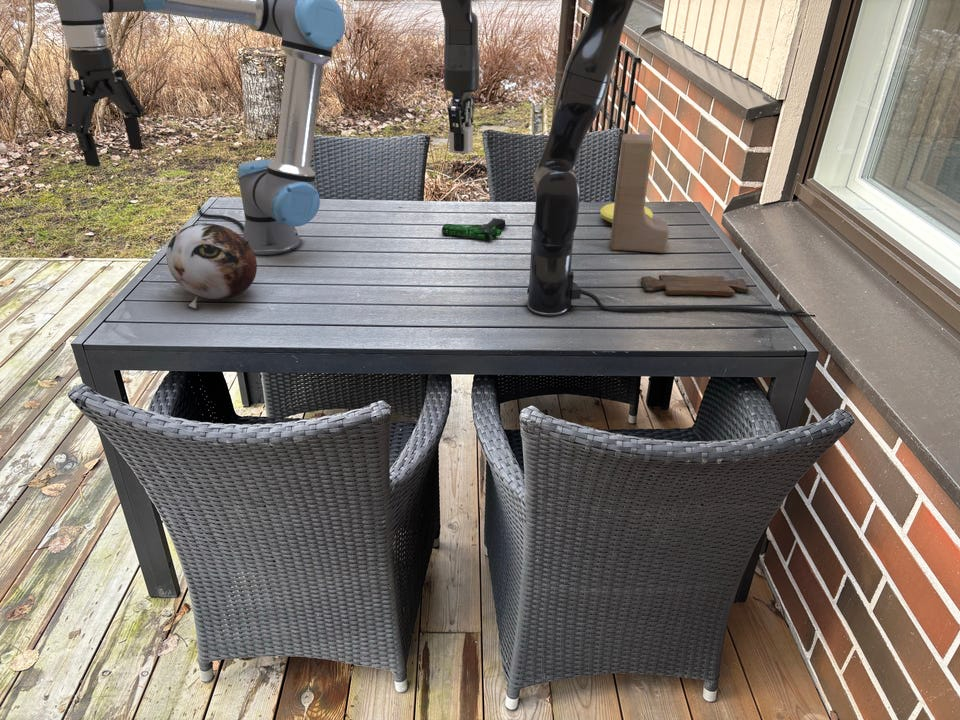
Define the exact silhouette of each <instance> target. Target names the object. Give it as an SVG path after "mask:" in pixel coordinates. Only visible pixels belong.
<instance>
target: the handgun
mask: <svg viewBox="0 0 960 720" xmlns="http://www.w3.org/2000/svg"><path fill="white" fill-rule="evenodd" d="M505 228H506V220H505V219H503V218H497V217H492V219H491V220H490V221H489V222H488V223H483V224H482V225H479V224H472V225H459V224H453V223H445V224H443V226H442V227H441V235H446V236H454V237H462V238H469V239H470V238H471V239H474V240H479V241H484V242H491V241H492V240H494V239H495V238H497V237H500V236H502V230H504V229H505Z"/></svg>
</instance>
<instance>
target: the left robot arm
mask: <svg viewBox="0 0 960 720" xmlns="http://www.w3.org/2000/svg"><path fill="white" fill-rule="evenodd" d="M54 1H55V5H56V8H57V12H58V15H59V20H60V23H61V24H60V25H61V29H62V33H63V36H64V40H65V45H66V47H68V48H70V49H69V51H68V55H69V59H70V64H71V66H72V67H71V68H72V69H73V70H74V71H76V72H77V75H78V77H77V79H76V78H67V79H66V88H67V102H66V114H65V131H66V132H68V133H72V134H75V136H76V138H77V142H78V145H79V146H78V147H79V148H80V150H81V151H82V154H83V158H84V162H85V165H86V166H88V167H100V166H101V163H100V162H101V161H100V158H99V154H98V151H97V147H96V143H95V139H94V135H93V132H89V130H90V127H91V123H92V119H93V115H94V112H95V108H96V104H98V103H99V101H100V100H103V99H105V98H109V100H111V102H112V103H113V104H114V105H115V106H116V107H117V108H118V110H120V111H121V112H122V113H123V115H124V116H125V117H123V123H124V128H125V132H126V137H127V140H128V144H129V149H130V150H137V151H138V150H139V151H142V150H144V145H143V141H142V137H141V127H140V122H139V119H140V118H142V116H143V113H144V108H143V106H142V104H141V102H140V101H139V99H138V96H137V95H136V94H135V92H134V90H133V89H132V86H131V85H130V84H129V82H128V80H127V77H126V73H125V70H124V69H121V68H120V69H119V68H115V61H114V57H113V53H112V49H111V48H109V47H108V46H109V45H110V41H109V37H108V33H107V29H106V25H105V22H106V21H105V19H104V14H112V13H139V12H146V13H155V14H163V15H169V16H176V17H185V18H193V19H198V20H199V19H200V20H206V21H212V22H213V21H214V22H220V23H221V22H222V23H229V24H236V25H244V26H247V27H248V28H249V29H250V30H251V31H253V32H260V33H264V34H268V35H272V36H275V37H278V38H281V45H280V47H281V48H280V49H282V51H283V52H284V54H285V57H286V58H285V59H286V60H285V70H284V78H283V85H282V94H281V104H280V111H279V112H280V113H279V120H278V127H277V128H278V129H277V136H276V137H277V138H276V144H275V145H276V147H275V155H274V158H266V159H256V160H252V161H251V160H250V161H247V162H243V163H240V164H239V166H238V167H237V180H238V184H239V190H240V196H241V202H242V203H241V204H242V208H243V212H244V213H243V215H244V219H245V220H244V225H243V223H242V222H241V221H239V220H237V219H236V218H233V217H231V216H227V215H222V214H209V213H204V212H203V211H202V206H200V205H198V206H197V207H196V208H197V211H198V214H199V215H200V216H202V217H205V218H216V219H225V220H228V221H231V222H233V223H235V224H237V225H238V226H239V227H240V228H241V230H242V231H243V235H242V237H243V238H244V239H245V240H246V241H249V242H248V244H249V245H250V247H251V248H252V250H253V252H254V254H255V256H256V255H257V256H275V255H281V254H282V255H283V254H285V253H289V252H291V251H293V250H296V249H297V248H298V247H299V246H300V244H301V241H300V235H299V233H298V229H297V227H302V226H305V225H307V224H309V223H310V222H311V221H312V220H313V219H314V218H315V217H316V215H317V214H318V212H319V209H320V205H321V197H320V195H319V194H320V193H319V192H318V191H317V189H316V187H315V182H316V181H315V180H316V172H315V171H314V169H313V168H312V166H311V164H312V156H313V148H314V143H315V134H316V126H317V119H318V110H319V104H320V96H321V89H322V81H323V75H324V74H323V73H324V67H325V65H326V64H327V63H328V62H329V61H331V60H332V56H333V50H334V47H336V46H337V44H338V43H340V42H341V40H342V39H343V37H344V34H345V29H346V21H345V20H346V19H345V16H344V12H343V10H342V8H341V6H340V4H339V3H338V2H337V0H54ZM138 118H139V119H138ZM200 209H201V210H200ZM199 210H200V211H199Z"/></svg>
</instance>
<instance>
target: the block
mask: <svg viewBox="0 0 960 720" xmlns="http://www.w3.org/2000/svg"><path fill="white" fill-rule="evenodd" d="M456 127H458V125H456ZM448 142H449V143H448V145H449V146H448V147H449V152H448V153H450V154H451V153H452V154H465V155H468V154H470V153H471V152H472V151H473V150H474V126H471V127H467V126H465V132H464V150H463V151H455V150H454V133H452V132H450V129H448Z"/></svg>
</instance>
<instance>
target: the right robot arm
mask: <svg viewBox="0 0 960 720" xmlns="http://www.w3.org/2000/svg"><path fill="white" fill-rule="evenodd" d="M634 1H635V0H592V3H591V7H590V10H589V14H588V16H587V19H586V21H585V24H584V26H583V28H582V30H581V32H580V33H579V35H578V37H577V40H576V42H575V44H574V46H573V47H572V49H571V52H570V54H569V56H568V59H567V61H566V65H565V67H564V72H563V75H562V77H561V82H560V86H559V90H558V94H557V98H556V101H555V102H556V103H555V105H554V106H555V107H554V111H553V115H552V119H551V126H550V129H549V134H548V137H547V140H546V142H545V146H544V148H543V151H542V153H541V156H540V159H539V161H538V164H537V166H536V168H535V171H534V174H533V178H532V188H533V193H534V195H535V208H534V209H535V210H534V221H533V224H532V227H531V239H530V241H531V243H530V260H529V275H528V276H529V278H528V288H527V289H526V290H527V292H526V294H527V295H528V296H527V309H528V310H529V311H530V312H531V313H533V314H536V315H539V316H543V317H544V316H545V317H556V316H560V315H563V314H565V313H567V312H571V311H572V301H573V300H574V301H575V300H580V299H581V297H582V295H583V296H586V297H589V298H591V299H592V300H594V302H595V303H596V305H597V306H598V307H599V309H601V310H604V311H607V312H614V313H625V312H627V313H628V312H633V313H634V312H638V313H639V312H643V313H644V312H663V311H665V312H666V311H669V312H670V311H697V310H698V311H701V310H703V311H705V310H707V311H709V310H710V311H715V310H717V311H743V312H754V313H755V312H757V313H768V314H777V315H791V316H792V315H800V314H806V313H805V312H802V310H801V309H802V308H799V309H784V310H785V311H786V312H785V311H778V308H768V307H756V306H755V307H753V306H740V305H708V304H707V305H701V304H700V305H670V306H669V305H668V306H647V307H645V306H643V307H641V306H639V307H638V306H637V307H636V306H635V307H633V306H630V307H627V306H625V307H612V306H608V305H606V304H603V303H602V302H601V300H600V299H599V297H598V296H597V295H595V294H593V293H592V292H590V291H587V290H584V289H582V288H581V287H580V286H579V285H578V284H577V283H576V282H575V281H574V278H575V275H574V274H575V273H574V271H573V270H572V259H573V247H574V237H575V231H576V229H577V226H578V217H579V209H580V201H581V200H580V199H581V186H580V181H579V179H578V177H577V176H576V170H577V169H576V168H577V163H578V159H579V155H580V150H581V147H582V144H583V142H584V139H585V137H586V135H587V133H588V132H589V130H590V128H591V127H592V126H593V123H594V122H595V120H596V118H597V116H598V115H599V113H600V110H601V109H602V106H603V103H604V101H605V98H606V96H607V95H606V94H607V91H608V89H609V85H610V82H611V78H612V74H613V71H614V67H615V63H616V59H617V56H618V52H619V48H620V43H621V39H622V34H623V32H624V28H625V24H626V22H627V18H628V16H629V14H630V11H631V9H632V6H633V4H634ZM439 3H440V7H441V12H442V15H443V22H444V23H443V34H444V35H443V36H444V37H443V38H444V47H443V88H444V90H445V91H447V92H451V93H452V97H451V98H452V99H450V105H448V106H447V116H448V124H449V125H448V126H449V130H450V132H452V133H454V150H455V151H463V150H464V132H465V126H467V127H472V124H474V115H475V114H474V113H475V102H476V101H475V100H476V98H475V95H472V93H473V92H476V91H478V90H479V89H480V49H479V20H478V16H477V14H476V13H474V12H473V7H472V0H439ZM456 126H458V127H456Z"/></svg>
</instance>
